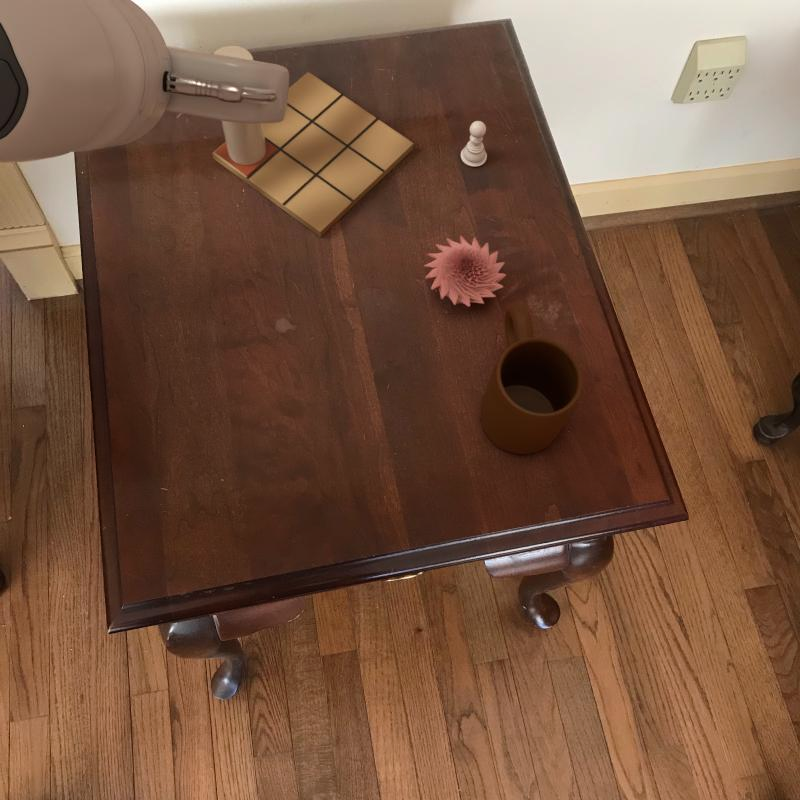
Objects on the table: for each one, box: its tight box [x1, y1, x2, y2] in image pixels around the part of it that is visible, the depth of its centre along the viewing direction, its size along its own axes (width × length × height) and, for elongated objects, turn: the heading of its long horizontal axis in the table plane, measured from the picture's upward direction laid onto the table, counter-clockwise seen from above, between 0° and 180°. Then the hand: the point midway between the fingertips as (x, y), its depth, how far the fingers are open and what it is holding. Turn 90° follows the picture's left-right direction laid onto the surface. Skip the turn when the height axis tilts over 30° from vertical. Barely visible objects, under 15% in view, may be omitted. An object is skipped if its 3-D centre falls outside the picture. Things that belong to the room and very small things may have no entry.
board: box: [211, 71, 414, 238], centre depth 88 cm, size 15×15×1 cm
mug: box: [480, 301, 584, 455], centre depth 74 cm, size 12×8×9 cm, turn 10°
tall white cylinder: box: [213, 45, 266, 165], centre depth 82 cm, size 4×4×12 cm
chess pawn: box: [460, 120, 488, 168], centre depth 87 cm, size 3×3×5 cm
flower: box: [423, 235, 507, 308], centre depth 80 cm, size 8×8×6 cm
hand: (168, 71), depth 61 cm, fingers open, 8 cm apart
